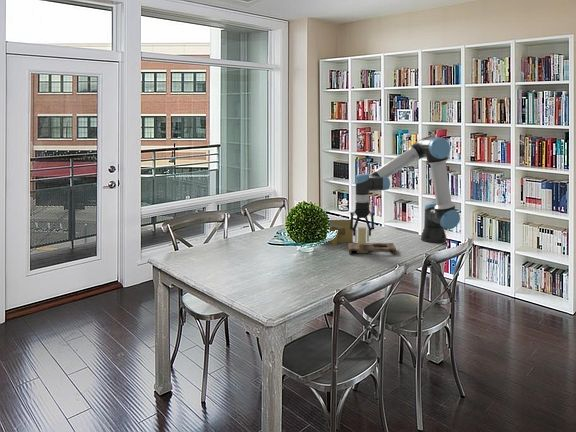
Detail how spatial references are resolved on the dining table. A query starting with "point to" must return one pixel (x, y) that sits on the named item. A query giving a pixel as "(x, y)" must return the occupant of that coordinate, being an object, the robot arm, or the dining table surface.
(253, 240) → the dining table surface
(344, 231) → the cardboard box
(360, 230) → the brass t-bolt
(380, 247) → the keyhole plate
